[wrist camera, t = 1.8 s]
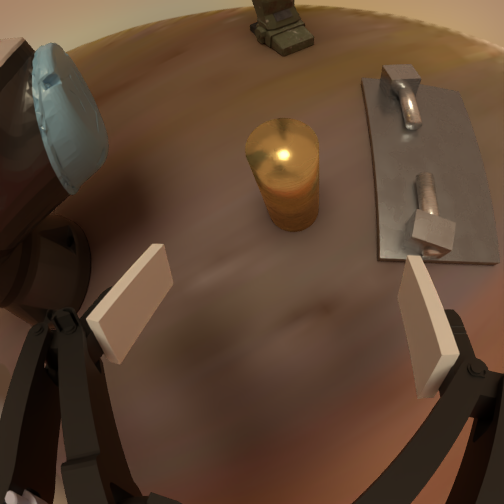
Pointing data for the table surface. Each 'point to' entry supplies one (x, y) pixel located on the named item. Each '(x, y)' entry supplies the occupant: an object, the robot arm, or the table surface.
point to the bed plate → (435, 158)
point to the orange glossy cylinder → (286, 171)
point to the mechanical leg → (280, 26)
